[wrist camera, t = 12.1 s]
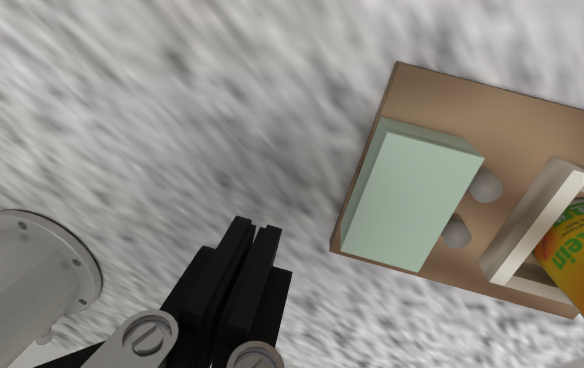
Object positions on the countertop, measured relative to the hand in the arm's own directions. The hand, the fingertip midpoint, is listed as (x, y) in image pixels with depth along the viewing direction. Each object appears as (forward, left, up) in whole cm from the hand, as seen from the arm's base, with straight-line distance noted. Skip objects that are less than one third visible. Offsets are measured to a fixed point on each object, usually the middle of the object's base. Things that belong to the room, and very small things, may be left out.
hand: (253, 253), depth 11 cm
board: (0, -14, -12) cm, 18 cm away
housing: (0, -7, -10) cm, 12 cm away
